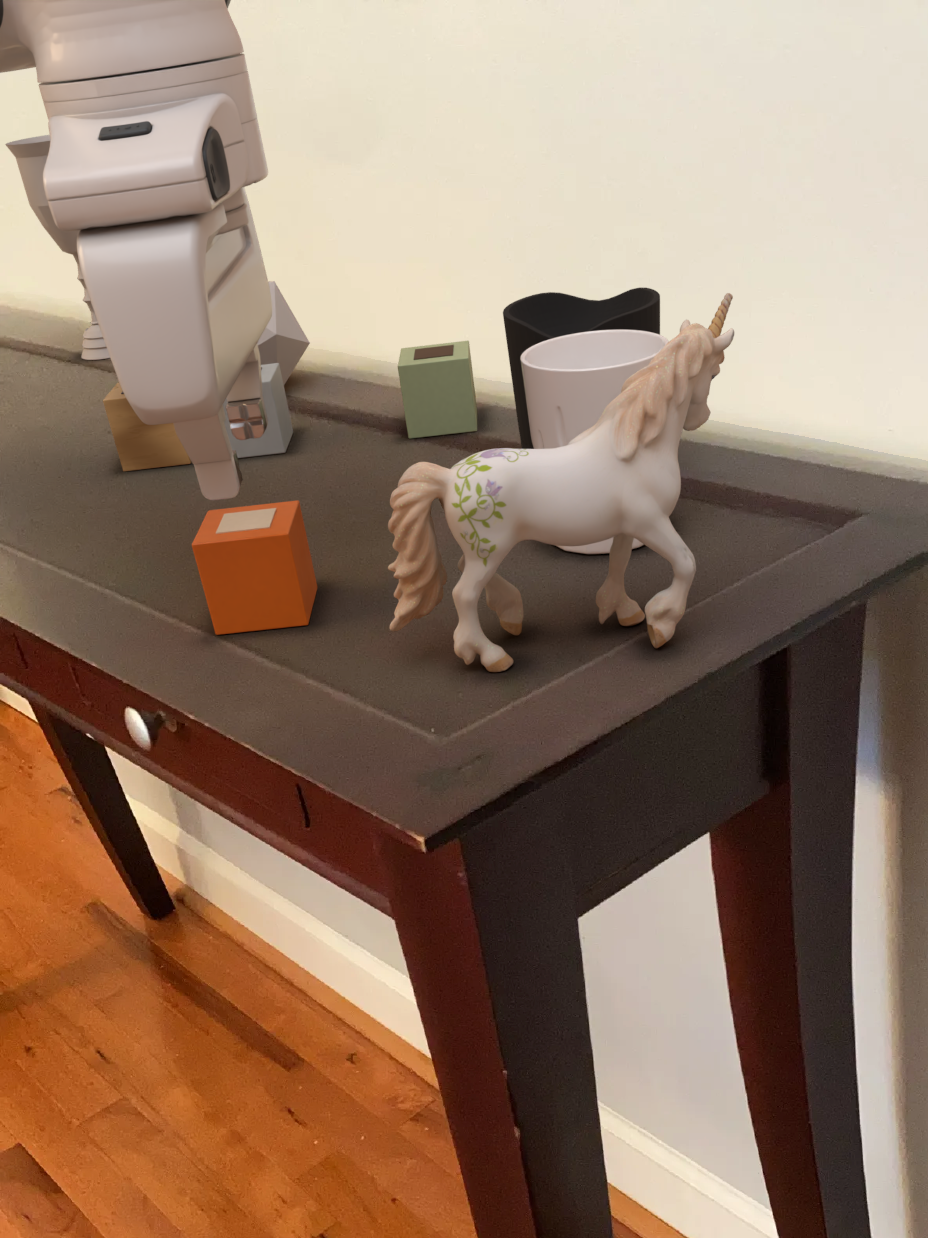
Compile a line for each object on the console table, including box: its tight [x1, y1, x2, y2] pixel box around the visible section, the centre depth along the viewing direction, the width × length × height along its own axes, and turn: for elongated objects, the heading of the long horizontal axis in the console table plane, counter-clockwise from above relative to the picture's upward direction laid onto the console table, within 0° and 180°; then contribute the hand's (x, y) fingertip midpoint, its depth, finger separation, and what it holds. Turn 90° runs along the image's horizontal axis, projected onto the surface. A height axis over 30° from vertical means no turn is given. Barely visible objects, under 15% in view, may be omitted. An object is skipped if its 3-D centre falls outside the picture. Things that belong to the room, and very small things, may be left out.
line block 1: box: [102, 381, 192, 472], centre depth 93 cm, size 5×5×5 cm
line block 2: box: [223, 363, 294, 459], centre depth 92 cm, size 5×5×5 cm
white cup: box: [520, 330, 670, 555], centre depth 70 cm, size 8×8×10 cm
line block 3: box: [397, 340, 478, 440], centre depth 92 cm, size 5×5×5 cm
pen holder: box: [502, 287, 661, 449], centre depth 79 cm, size 9×9×10 cm
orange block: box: [191, 500, 318, 636], centre depth 68 cm, size 5×5×5 cm
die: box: [257, 280, 311, 386], centre depth 104 cm, size 8×9×10 cm
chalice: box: [4, 134, 111, 361], centre depth 119 cm, size 7×7×18 cm
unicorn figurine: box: [387, 292, 735, 673], centre depth 59 cm, size 7×20×13 cm, turn 114°
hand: (239, 463), depth 64 cm, fingers open, 8 cm apart
